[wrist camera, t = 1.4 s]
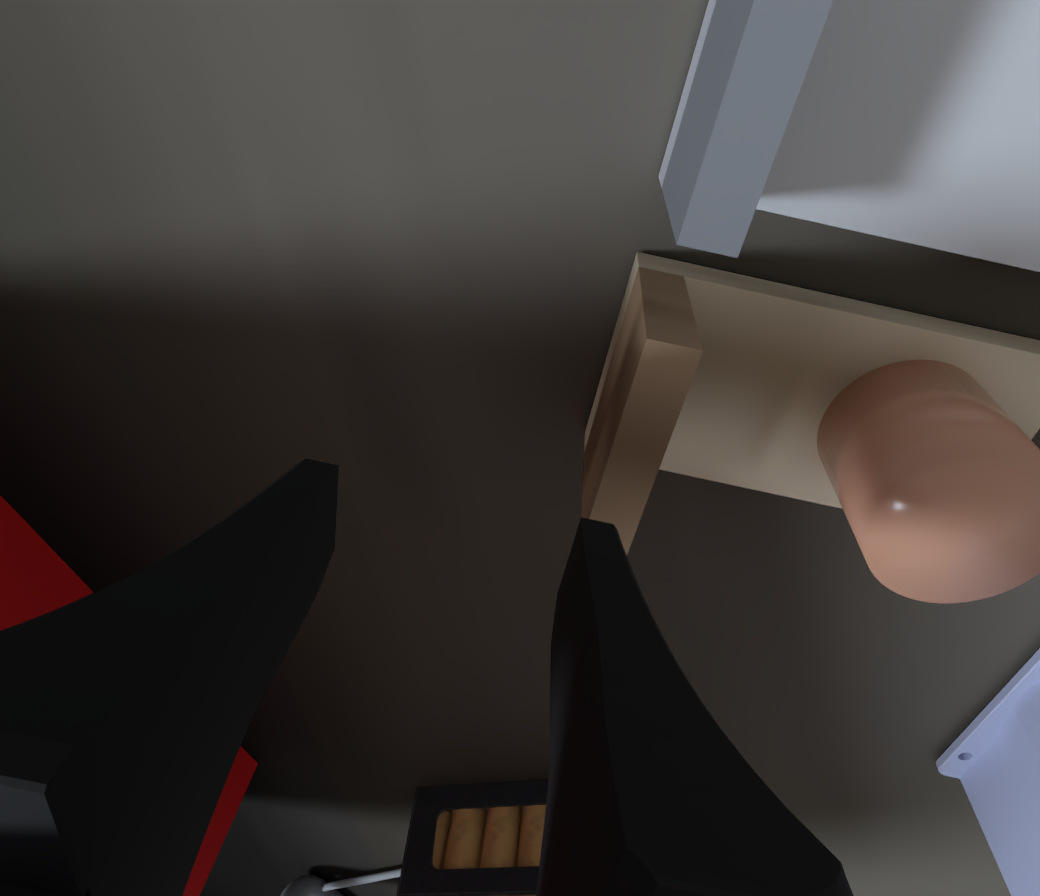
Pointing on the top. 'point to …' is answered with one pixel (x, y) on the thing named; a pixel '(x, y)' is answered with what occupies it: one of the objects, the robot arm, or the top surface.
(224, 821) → the book
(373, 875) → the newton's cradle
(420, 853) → the cigar case
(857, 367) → the tan notched piece
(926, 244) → the pale blue block
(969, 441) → the canister
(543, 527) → the top surface
